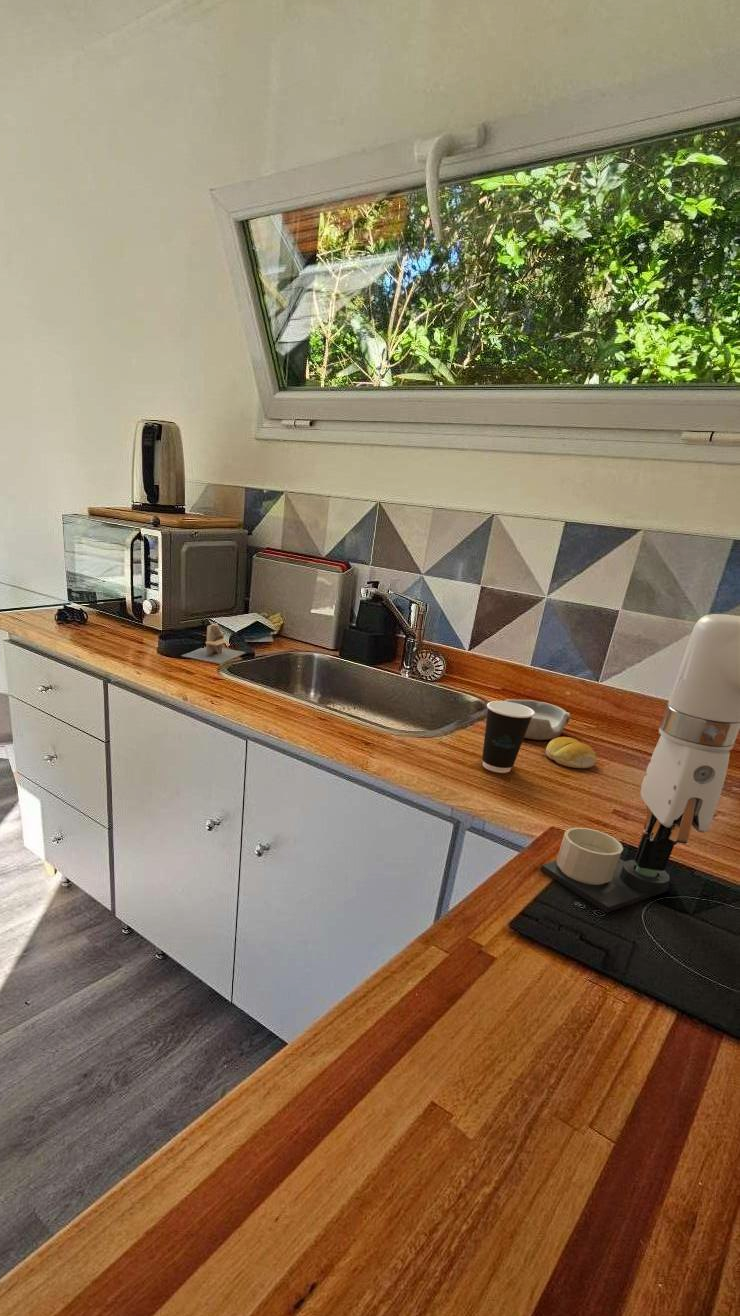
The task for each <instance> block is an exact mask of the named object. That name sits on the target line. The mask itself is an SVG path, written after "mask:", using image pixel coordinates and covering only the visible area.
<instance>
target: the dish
mask: <svg viewBox="0 0 740 1316" xmlns="http://www.w3.org/2000/svg"><path fill="white" fill-rule="evenodd" d="M504 701H506V702H513V703H517V704H521V705H524V706H527V707H529V708H531V709H532V710H533V711H534V712H535V715H534V716H532V718H531V721H530V723H529V726H528V729H527V731H526V734H525V736H524V739H529V740H538V741H543V740H544V741H545V740H553V739H555V738H559V737H560V736H561V735H562V733H563V731H564V728H565V727H566V724H568V723H569V722H570V719H571V713H570V712H567V711H566V710H565V709H564V708H561V707H560V706H558V705H554V704H552V703H548V702H545V701H537V700H533V699H504Z"/></svg>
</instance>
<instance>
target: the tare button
mask: <svg viewBox="0 0 740 1316" xmlns="http://www.w3.org/2000/svg"><path fill="white" fill-rule="evenodd" d="M635 871H636V872H637V873H639V874H641V875H643V876H646V877H652V878H656V876H657V873H658V870H653V869H646V868H640V867H639V866H638V865H637V867H636V869H635Z"/></svg>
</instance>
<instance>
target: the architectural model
mask: <svg viewBox="0 0 740 1316" xmlns="http://www.w3.org/2000/svg"><path fill="white" fill-rule="evenodd" d="M224 637H225V633H224V632H222V631H221V629H220V627H219V622H215V623H212V624H210V625H207V626H206V641H205V644H206V645H205V646H206V647H205V646H203V647H204V648H202V647H200V648H197V649H195V650H191V651H190V652H187V653H183V654H181V655H180V656H181V657H185V658H189V659H190V658H191V659H194V660H195V659H196V660H200V661H205V662H209V663H215V664H220V665H222V664H224V663H227V662H229V661H232V660H233V659H235V658H238V657H240V656H242V655H245V654H246V653H247V651H241V650H236V649H230V648H226V647H224V643H227V642H229V639H228V638H224Z"/></svg>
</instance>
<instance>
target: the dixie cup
mask: <svg viewBox="0 0 740 1316" xmlns="http://www.w3.org/2000/svg"><path fill="white" fill-rule="evenodd" d="M486 707H487V712H486V713H487V714H486V723H485V731H484V740H483V747H482V748H483V749H482V758H481V760H482V766H483V768H484V769H486V770H488V771H491V772H494V773H500V774H506V773H508V772H509V773H510V772H511V769H512V767H514V766H515V763H516V759H517V757H518V756H519V755H518V754H519V752H520V749H521V747H522V745H523V741H524V739H525V738H524V736H525V734H526V731H527V729H528V726H529V723H530V721H531V718H532V716H534V715H535V712H534V711H533V710H532V709H531V708H529V707H527V706H524V705H521V704H517V703H513V702H506V701H505V700H493V701H489V702H488V703H487V704H486Z"/></svg>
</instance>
